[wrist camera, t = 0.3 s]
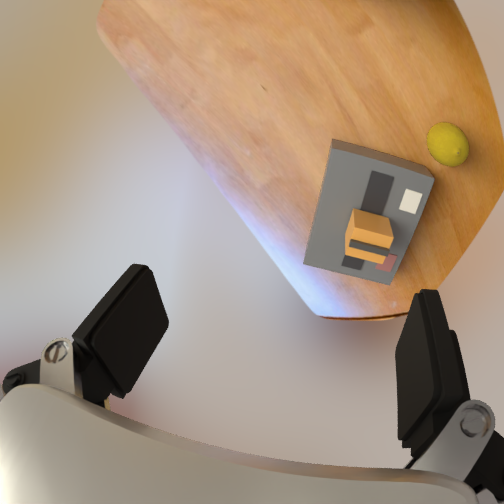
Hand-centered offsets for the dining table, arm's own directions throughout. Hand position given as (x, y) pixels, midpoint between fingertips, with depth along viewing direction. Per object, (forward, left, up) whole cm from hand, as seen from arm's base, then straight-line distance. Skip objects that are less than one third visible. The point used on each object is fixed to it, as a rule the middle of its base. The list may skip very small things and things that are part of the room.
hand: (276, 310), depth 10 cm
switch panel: (+11, +9, -35) cm, 37 cm away
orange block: (+11, +9, -29) cm, 32 cm away
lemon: (-3, +16, -35) cm, 39 cm away
